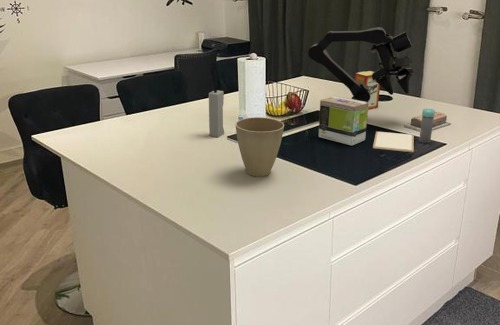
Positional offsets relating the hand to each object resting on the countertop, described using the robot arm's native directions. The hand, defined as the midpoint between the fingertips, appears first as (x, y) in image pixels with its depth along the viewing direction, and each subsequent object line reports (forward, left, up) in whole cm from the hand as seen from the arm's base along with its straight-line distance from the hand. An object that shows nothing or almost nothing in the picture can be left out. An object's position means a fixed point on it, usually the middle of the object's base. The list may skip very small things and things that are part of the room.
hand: (399, 94), depth 205 cm
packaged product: (+12, +7, -15) cm, 21 cm away
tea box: (-19, -19, -14) cm, 31 cm away
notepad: (0, -17, -14) cm, 22 cm away
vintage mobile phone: (-65, -29, -14) cm, 73 cm away
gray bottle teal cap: (+11, -13, -14) cm, 22 cm away
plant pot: (-40, -60, -14) cm, 74 cm away
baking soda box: (-14, +28, -14) cm, 34 cm away
